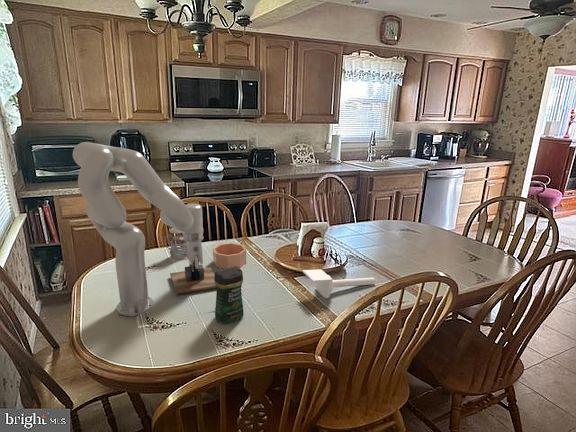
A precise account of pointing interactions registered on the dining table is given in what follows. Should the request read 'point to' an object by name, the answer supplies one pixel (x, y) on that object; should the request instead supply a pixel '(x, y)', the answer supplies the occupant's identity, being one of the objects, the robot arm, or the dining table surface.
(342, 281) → the white mallet
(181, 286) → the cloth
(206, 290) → the mat
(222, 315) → the coffee jar
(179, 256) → the lantern
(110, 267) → the dining table surface
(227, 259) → the bowl
